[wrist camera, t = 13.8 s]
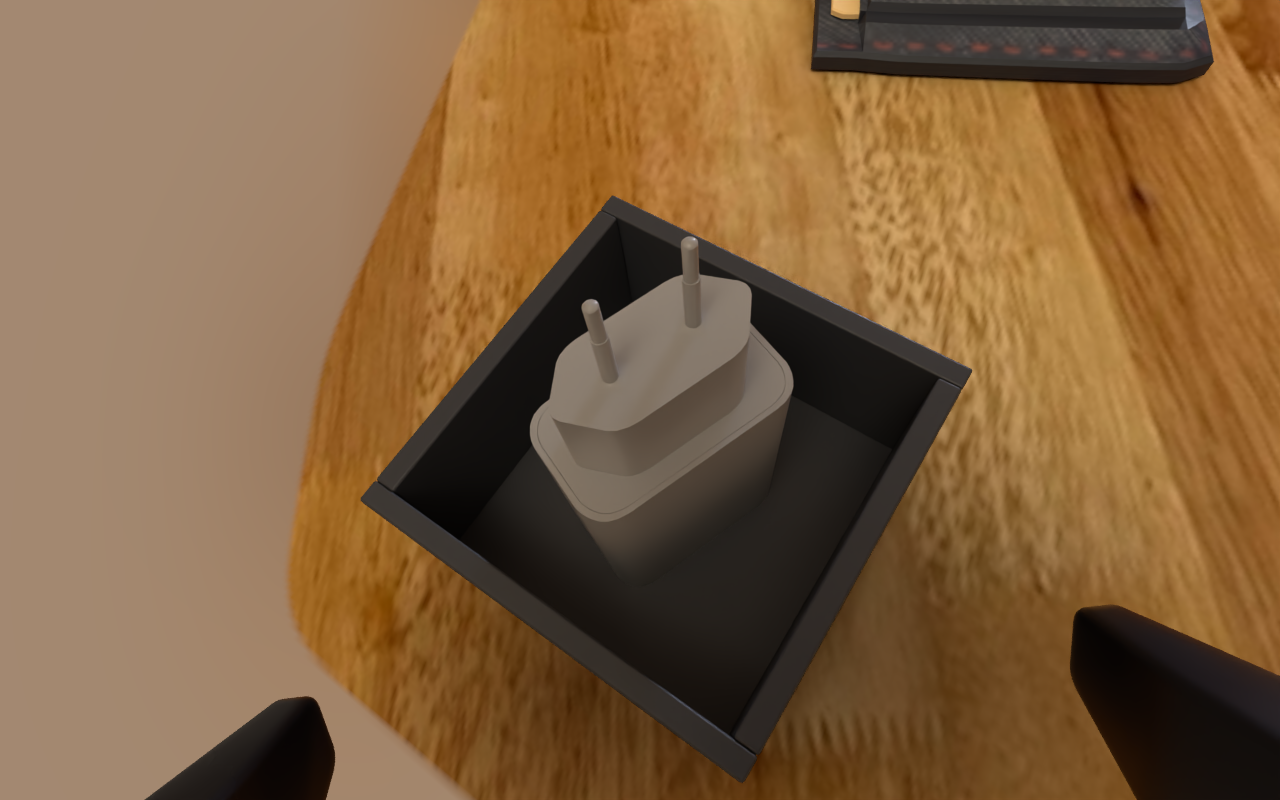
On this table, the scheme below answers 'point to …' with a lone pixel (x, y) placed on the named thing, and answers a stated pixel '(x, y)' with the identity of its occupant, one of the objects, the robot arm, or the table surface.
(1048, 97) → the table surface
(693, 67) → the table surface
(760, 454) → the power adapter
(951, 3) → the wallet
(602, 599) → the open storage box
